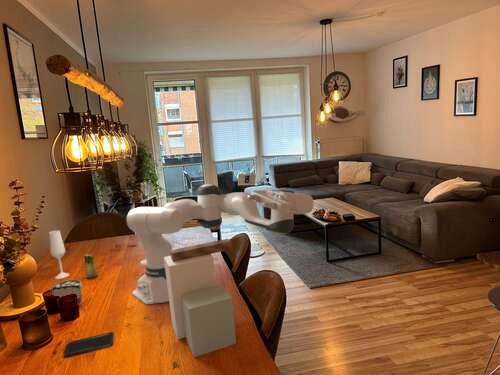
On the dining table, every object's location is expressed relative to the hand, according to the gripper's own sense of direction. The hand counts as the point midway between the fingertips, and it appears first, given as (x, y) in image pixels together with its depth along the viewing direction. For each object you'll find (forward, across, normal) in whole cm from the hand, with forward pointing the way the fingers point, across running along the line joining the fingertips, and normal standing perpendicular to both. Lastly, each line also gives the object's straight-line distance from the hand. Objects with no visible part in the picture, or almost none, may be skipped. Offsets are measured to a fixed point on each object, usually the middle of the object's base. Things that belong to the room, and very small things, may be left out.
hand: (255, 200), depth 131 cm
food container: (+47, +48, -62) cm, 92 cm away
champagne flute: (+45, +87, -67) cm, 119 cm away
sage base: (+18, -15, -45) cm, 51 cm away
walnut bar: (+19, 0, -20) cm, 28 cm away
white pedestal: (+17, -3, -46) cm, 50 cm away
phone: (+49, +11, -57) cm, 76 cm away
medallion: (-3, +70, -53) cm, 88 cm away
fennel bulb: (+34, +73, -62) cm, 102 cm away
